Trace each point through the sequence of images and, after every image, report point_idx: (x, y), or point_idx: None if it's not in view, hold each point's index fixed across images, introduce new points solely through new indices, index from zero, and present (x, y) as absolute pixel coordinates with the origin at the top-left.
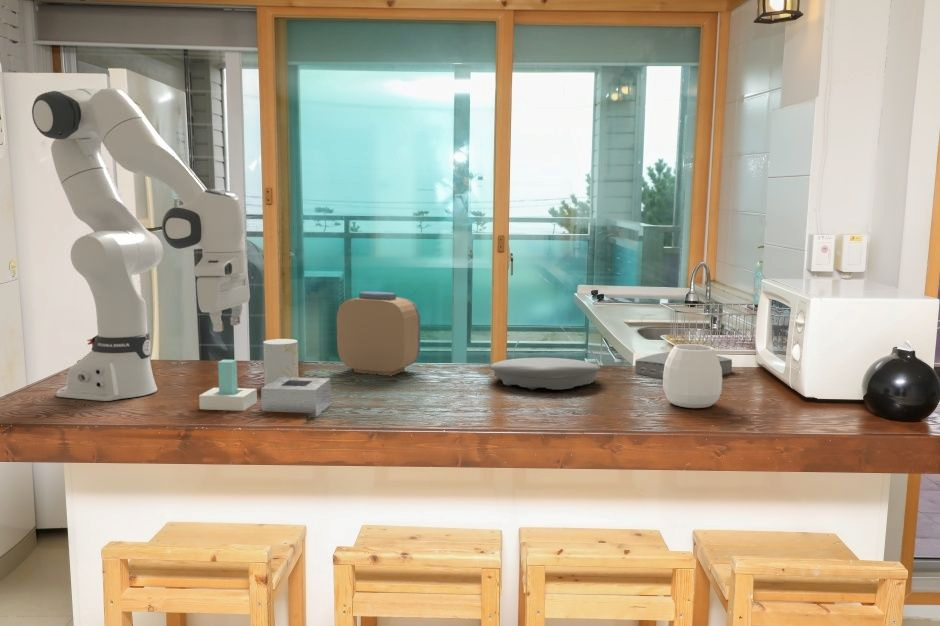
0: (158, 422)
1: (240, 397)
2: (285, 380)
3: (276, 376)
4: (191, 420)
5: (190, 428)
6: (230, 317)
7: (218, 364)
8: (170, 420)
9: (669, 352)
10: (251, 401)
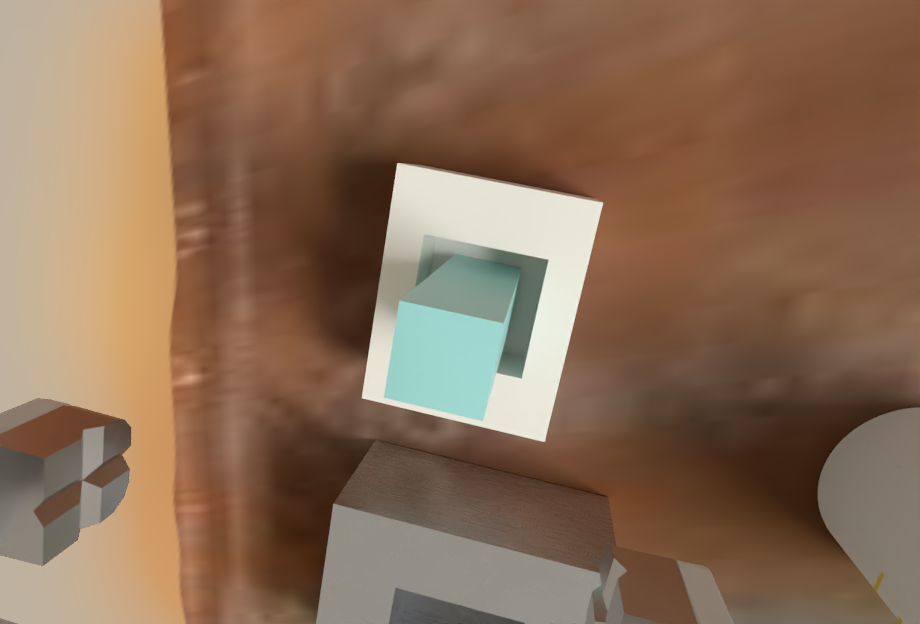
0: (262, 6)
1: (365, 382)
2: (519, 609)
3: (869, 525)
4: (299, 156)
5: (176, 185)
6: (632, 618)
7: (403, 298)
8: (298, 55)
9: None
10: None
